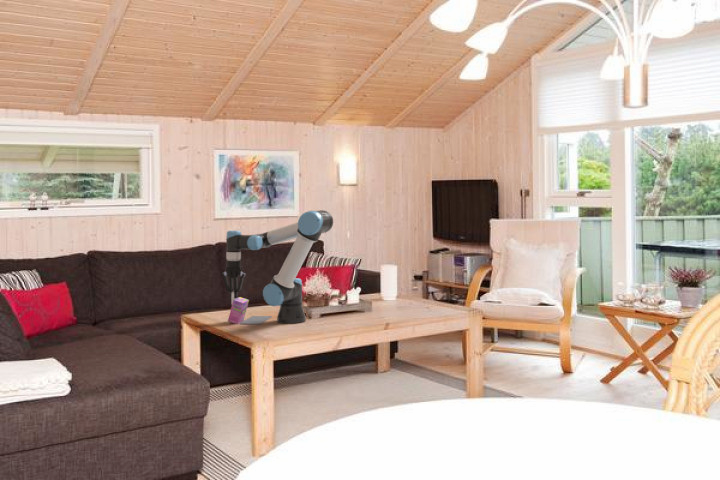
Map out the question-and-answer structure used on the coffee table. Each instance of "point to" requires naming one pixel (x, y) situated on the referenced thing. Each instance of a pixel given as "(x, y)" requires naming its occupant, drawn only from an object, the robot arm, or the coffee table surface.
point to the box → (238, 310)
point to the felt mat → (256, 320)
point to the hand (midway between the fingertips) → (233, 304)
